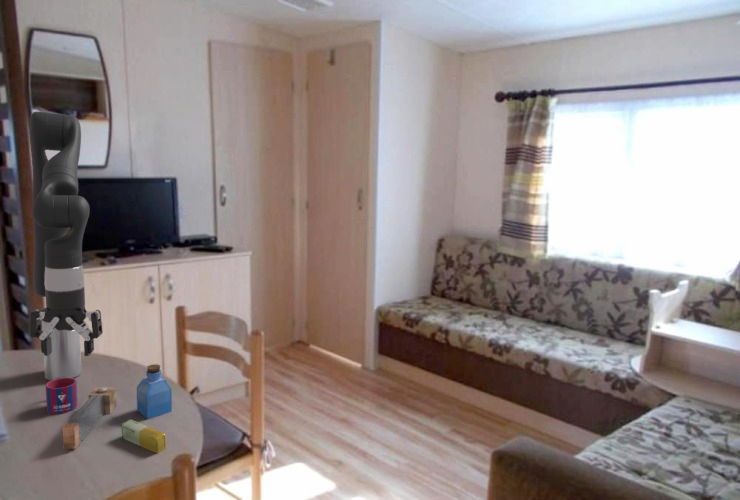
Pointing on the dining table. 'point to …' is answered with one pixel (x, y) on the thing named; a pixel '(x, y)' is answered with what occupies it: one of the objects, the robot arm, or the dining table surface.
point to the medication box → (143, 436)
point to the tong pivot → (106, 398)
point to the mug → (61, 395)
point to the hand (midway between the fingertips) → (68, 354)
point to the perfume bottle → (154, 394)
